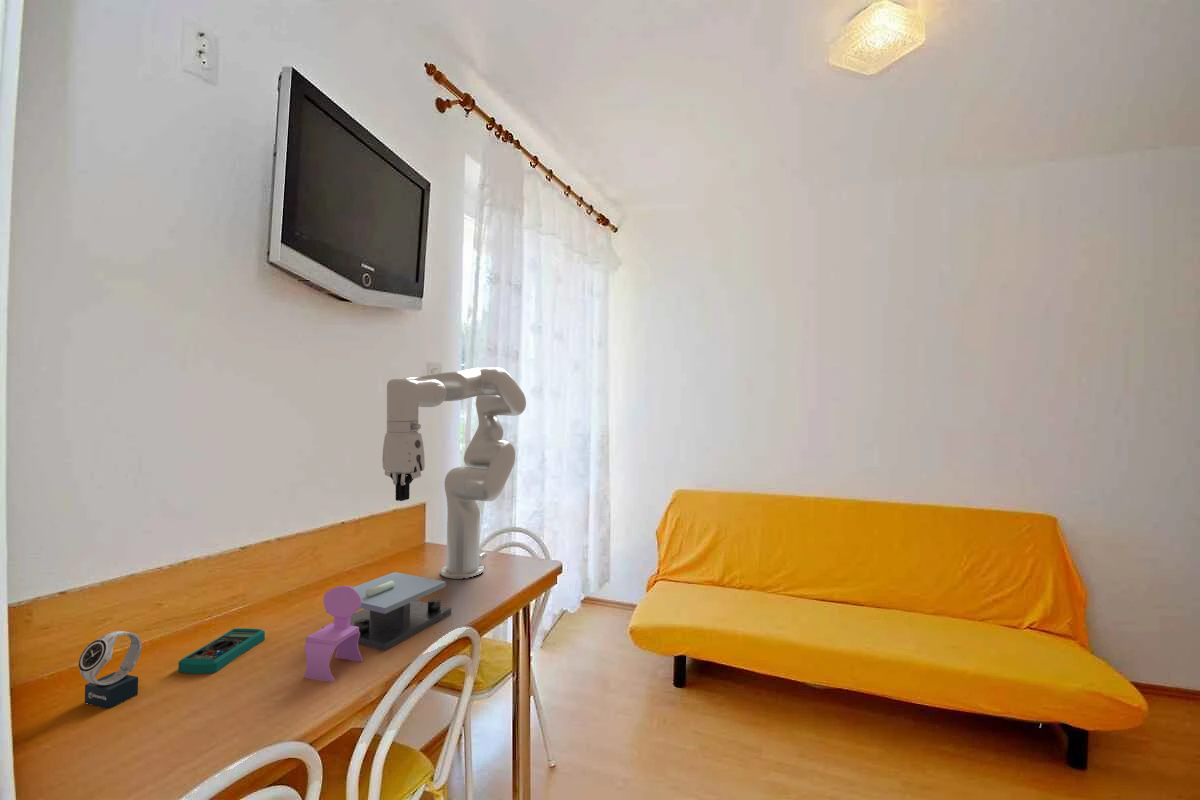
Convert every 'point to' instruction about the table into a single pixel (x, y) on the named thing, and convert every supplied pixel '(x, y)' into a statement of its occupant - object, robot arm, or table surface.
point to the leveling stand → (397, 623)
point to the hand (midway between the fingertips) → (402, 499)
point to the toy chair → (334, 634)
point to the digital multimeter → (221, 651)
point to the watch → (115, 684)
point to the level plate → (395, 591)
